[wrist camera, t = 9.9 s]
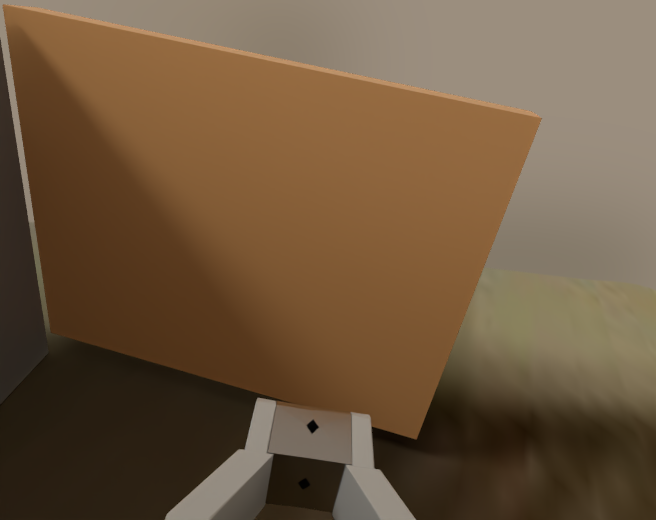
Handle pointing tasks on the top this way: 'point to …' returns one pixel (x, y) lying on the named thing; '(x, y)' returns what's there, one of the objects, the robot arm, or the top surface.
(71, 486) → the top surface
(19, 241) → the block
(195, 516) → the robot arm
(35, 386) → the top surface
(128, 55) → the side door
